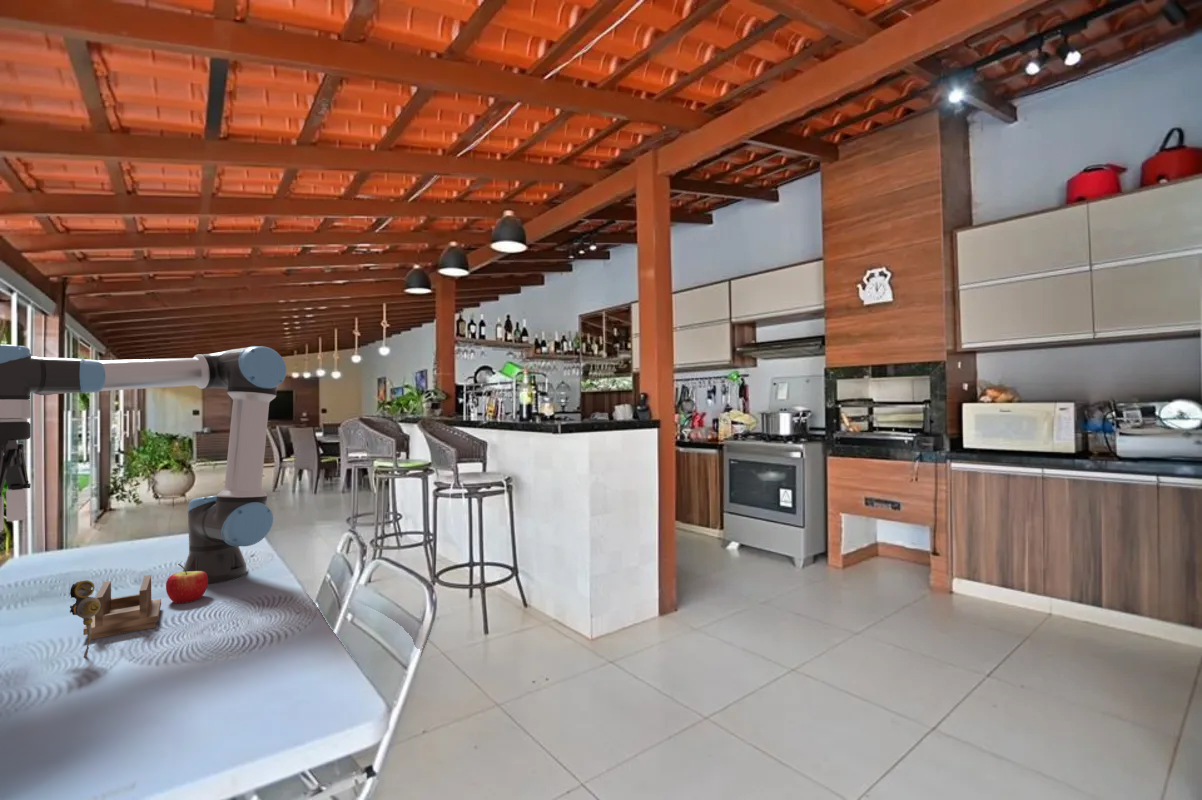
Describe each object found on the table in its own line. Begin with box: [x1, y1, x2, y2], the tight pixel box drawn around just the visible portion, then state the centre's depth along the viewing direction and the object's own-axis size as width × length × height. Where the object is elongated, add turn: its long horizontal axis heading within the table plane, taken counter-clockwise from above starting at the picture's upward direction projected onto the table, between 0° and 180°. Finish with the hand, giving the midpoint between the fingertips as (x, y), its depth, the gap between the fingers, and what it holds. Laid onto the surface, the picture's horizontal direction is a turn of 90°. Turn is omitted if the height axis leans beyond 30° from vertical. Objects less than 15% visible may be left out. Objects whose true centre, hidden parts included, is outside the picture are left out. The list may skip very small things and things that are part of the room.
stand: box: [82, 574, 162, 641], centre depth 125 cm, size 12×14×9 cm
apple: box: [165, 563, 209, 604], centre depth 141 cm, size 8×8×10 cm
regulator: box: [69, 580, 101, 658], centre depth 109 cm, size 8×4×15 cm, turn 71°
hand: (5, 525), depth 115 cm, fingers open, 13 cm apart
